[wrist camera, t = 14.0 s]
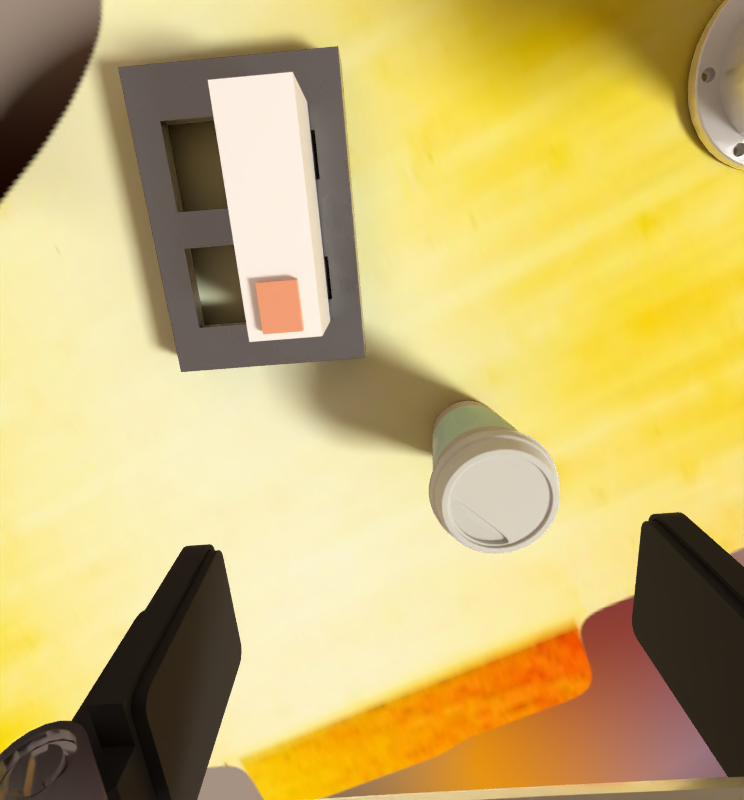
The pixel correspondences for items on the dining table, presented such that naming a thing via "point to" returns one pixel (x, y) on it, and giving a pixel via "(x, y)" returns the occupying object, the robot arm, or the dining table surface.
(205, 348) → the grey frame with openings
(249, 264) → the white block orange button
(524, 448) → the coffee cup
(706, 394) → the dining table surface
